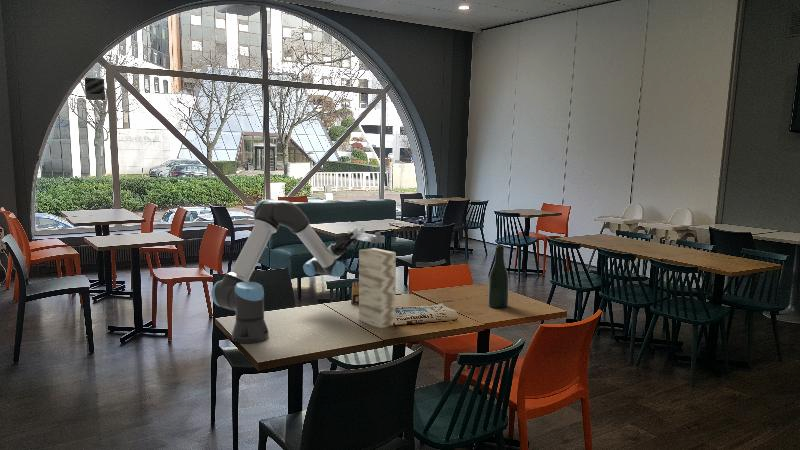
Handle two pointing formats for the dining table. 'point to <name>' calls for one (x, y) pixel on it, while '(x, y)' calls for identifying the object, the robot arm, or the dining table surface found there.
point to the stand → (377, 287)
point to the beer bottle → (498, 281)
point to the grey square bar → (370, 237)
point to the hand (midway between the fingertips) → (360, 230)
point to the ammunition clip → (355, 294)
